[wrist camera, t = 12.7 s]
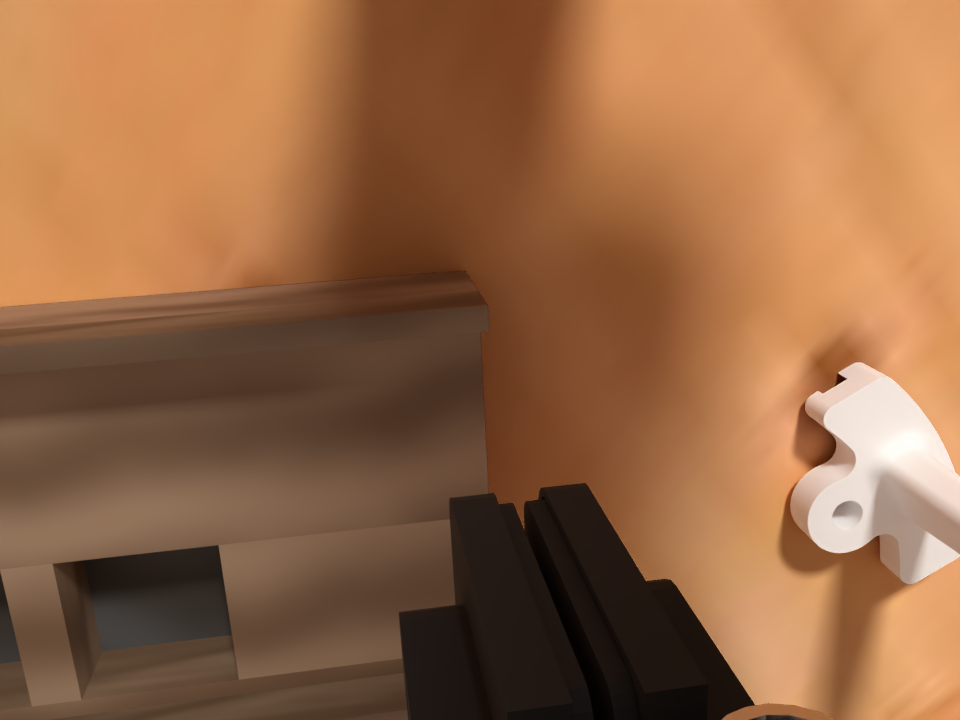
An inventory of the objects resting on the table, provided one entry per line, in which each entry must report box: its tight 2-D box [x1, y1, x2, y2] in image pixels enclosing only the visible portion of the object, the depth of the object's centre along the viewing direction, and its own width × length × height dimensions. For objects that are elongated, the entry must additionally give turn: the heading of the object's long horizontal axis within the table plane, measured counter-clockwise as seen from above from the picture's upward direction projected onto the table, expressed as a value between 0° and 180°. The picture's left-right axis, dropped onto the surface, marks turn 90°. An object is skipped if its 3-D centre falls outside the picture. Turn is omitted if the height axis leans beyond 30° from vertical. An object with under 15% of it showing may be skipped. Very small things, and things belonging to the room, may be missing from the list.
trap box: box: [0, 271, 489, 720], centre depth 37 cm, size 18×36×6 cm, turn 93°
